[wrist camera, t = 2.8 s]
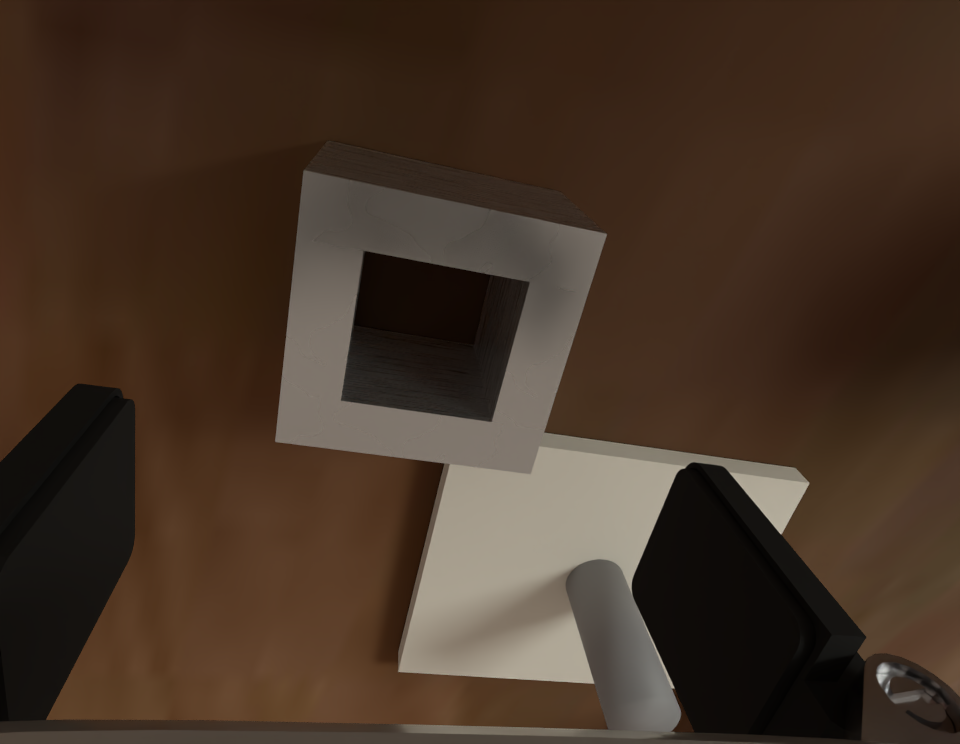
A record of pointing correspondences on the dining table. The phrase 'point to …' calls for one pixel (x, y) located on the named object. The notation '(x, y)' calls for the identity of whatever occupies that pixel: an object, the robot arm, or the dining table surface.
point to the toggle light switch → (560, 571)
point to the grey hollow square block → (422, 360)
